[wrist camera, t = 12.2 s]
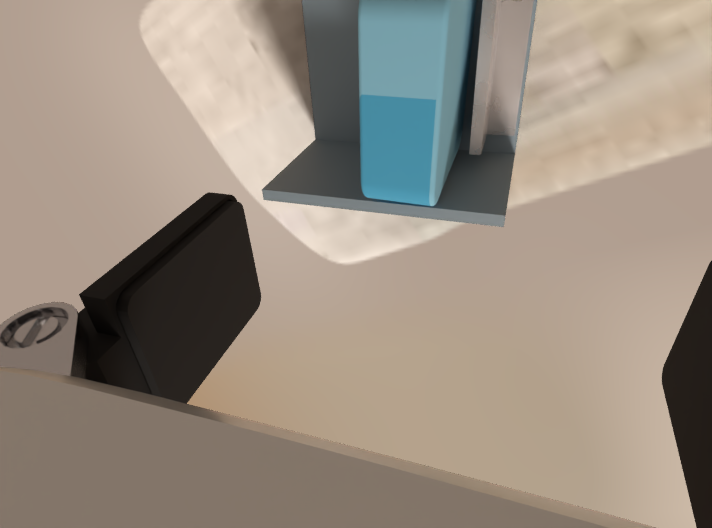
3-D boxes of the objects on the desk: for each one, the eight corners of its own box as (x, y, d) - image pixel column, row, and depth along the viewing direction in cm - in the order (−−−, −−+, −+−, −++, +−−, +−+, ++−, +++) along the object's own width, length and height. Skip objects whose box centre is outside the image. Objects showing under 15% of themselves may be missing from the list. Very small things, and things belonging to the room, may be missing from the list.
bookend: (536, -20, 30) (534, -12, 27) (514, 134, 36) (510, 157, 33) (491, -19, 31) (483, -11, 28) (476, 132, 37) (469, 154, 33)
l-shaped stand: (544, -53, 31) (542, -42, 22) (514, 156, 39) (503, 226, 30) (306, -43, 35) (223, -30, 26) (322, 142, 43) (263, 199, 34)
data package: (411, -36, 32) (355, -18, 23) (480, -36, 31) (451, -17, 22) (405, 138, 39) (360, 206, 30) (461, 143, 38) (432, 216, 29)
